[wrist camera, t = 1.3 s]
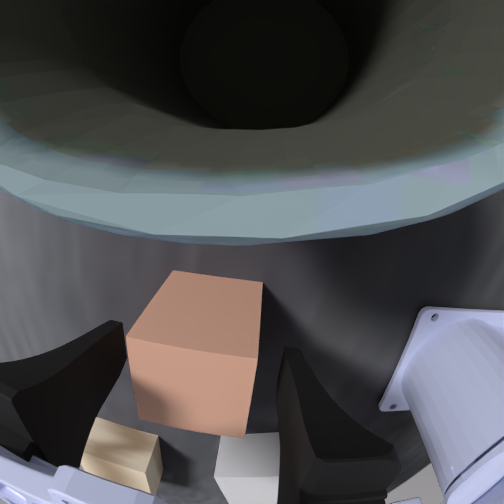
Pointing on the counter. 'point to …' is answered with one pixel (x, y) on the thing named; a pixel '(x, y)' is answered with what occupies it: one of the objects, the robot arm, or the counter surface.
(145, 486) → the oak base block
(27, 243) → the counter surface
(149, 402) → the terracotta block
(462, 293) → the counter surface
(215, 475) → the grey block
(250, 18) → the teal round container
